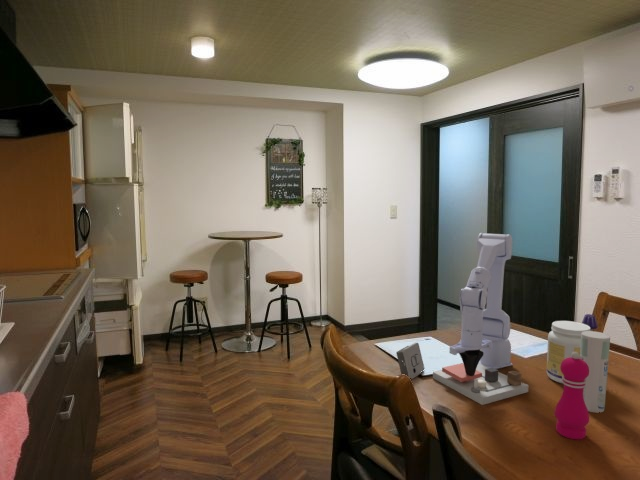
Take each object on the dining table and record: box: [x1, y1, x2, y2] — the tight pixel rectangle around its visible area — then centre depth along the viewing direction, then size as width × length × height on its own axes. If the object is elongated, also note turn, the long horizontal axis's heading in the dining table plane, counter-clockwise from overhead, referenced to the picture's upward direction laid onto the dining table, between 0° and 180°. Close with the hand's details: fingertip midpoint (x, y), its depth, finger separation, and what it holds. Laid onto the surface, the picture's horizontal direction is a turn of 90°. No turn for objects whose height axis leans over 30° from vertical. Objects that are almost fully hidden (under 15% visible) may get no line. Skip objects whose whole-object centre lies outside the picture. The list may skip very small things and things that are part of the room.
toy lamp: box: [581, 313, 598, 331], centre depth 153 cm, size 5×5×17 cm
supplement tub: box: [545, 320, 590, 384], centre depth 141 cm, size 12×12×17 cm
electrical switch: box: [396, 342, 425, 380], centre depth 146 cm, size 9×5×9 cm, turn 141°
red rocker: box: [441, 362, 482, 382], centre depth 136 cm, size 8×8×1 cm
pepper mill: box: [554, 352, 590, 440], centre depth 109 cm, size 7×7×20 cm
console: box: [432, 363, 529, 406], centre depth 137 cm, size 18×20×6 cm
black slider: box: [485, 368, 499, 383], centre depth 135 cm, size 3×2×3 cm
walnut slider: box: [506, 370, 522, 386], centre depth 133 cm, size 2×3×3 cm
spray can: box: [580, 331, 611, 414], centre depth 122 cm, size 6×6×20 cm
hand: (470, 374), depth 133 cm, fingers closed, pressing on red rocker
